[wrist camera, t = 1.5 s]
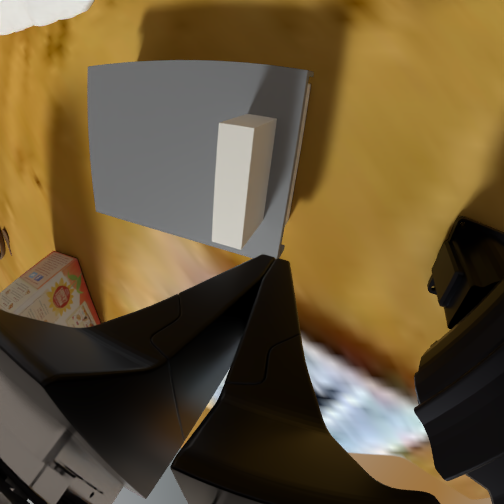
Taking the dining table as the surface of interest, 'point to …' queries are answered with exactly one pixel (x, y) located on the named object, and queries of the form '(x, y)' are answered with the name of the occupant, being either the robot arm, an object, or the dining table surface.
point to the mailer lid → (197, 148)
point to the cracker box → (52, 293)
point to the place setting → (1, 243)
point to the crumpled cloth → (37, 12)
